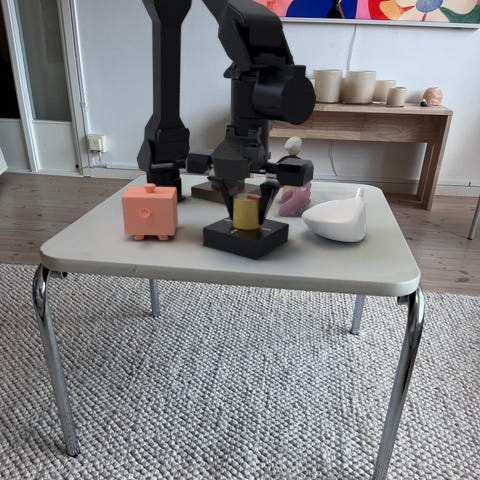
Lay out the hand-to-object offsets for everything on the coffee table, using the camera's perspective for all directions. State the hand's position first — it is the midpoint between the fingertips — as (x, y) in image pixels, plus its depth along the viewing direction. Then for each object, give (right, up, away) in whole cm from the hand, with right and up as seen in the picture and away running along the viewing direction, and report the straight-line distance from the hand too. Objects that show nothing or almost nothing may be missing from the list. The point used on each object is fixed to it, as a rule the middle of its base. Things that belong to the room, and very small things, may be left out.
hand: (246, 222), depth 75 cm
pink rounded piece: (+10, +6, +18) cm, 22 cm away
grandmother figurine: (+9, +9, +23) cm, 26 cm away
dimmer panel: (0, -3, +2) cm, 4 cm away
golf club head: (+15, -1, +6) cm, 16 cm away
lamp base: (-4, +11, +26) cm, 28 cm away
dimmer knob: (0, 0, 0) cm, 0 cm away
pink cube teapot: (-16, -1, +4) cm, 16 cm away
